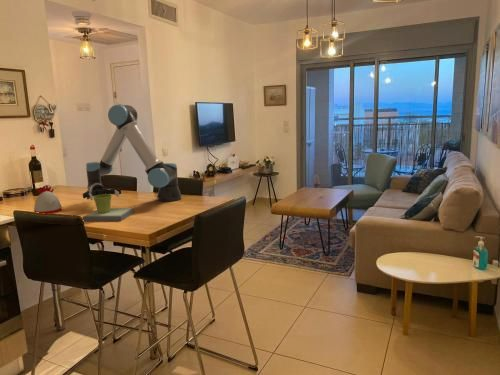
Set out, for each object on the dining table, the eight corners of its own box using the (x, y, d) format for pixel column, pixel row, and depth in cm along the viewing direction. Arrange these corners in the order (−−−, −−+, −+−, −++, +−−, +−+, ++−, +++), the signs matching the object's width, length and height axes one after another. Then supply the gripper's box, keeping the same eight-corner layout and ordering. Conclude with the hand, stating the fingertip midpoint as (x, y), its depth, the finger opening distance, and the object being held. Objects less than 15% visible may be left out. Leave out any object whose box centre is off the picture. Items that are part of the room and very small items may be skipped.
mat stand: (134, 212, 204) (134, 207, 204) (121, 220, 186) (120, 215, 186) (99, 212, 206) (98, 208, 205) (83, 221, 188) (82, 216, 187)
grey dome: (31, 211, 212) (28, 186, 209) (57, 207, 221) (54, 182, 219) (38, 215, 202) (35, 188, 199) (65, 211, 211) (62, 185, 209)
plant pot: (112, 213, 192) (111, 197, 190) (93, 215, 189) (91, 198, 188) (114, 209, 201) (112, 193, 199) (95, 210, 198) (93, 195, 197)
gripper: (120, 193, 225) (129, 199, 207) (75, 199, 212) (80, 205, 194) (119, 181, 224) (128, 186, 206) (74, 186, 211) (79, 191, 193)
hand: (105, 195), depth 200 cm, fingers open, 13 cm apart
